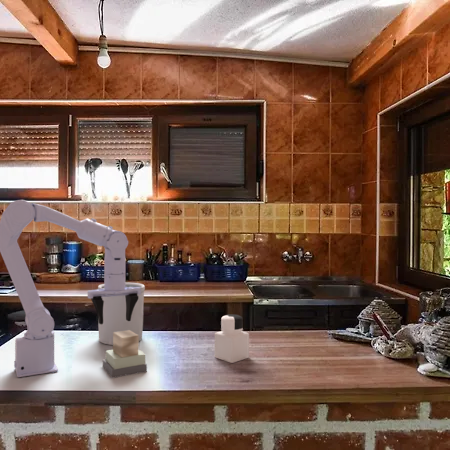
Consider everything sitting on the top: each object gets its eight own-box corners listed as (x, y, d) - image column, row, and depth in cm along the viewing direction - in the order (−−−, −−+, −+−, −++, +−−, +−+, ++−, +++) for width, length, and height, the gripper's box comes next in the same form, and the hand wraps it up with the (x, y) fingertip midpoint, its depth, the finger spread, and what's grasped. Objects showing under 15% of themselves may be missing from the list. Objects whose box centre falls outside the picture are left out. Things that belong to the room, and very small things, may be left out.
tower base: (111, 380, 110) (111, 370, 110) (102, 369, 118) (102, 359, 118) (146, 374, 114) (146, 364, 114) (135, 363, 122) (135, 354, 122)
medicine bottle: (231, 352, 131) (231, 311, 131) (249, 357, 126) (249, 315, 126) (213, 357, 126) (214, 315, 126) (231, 363, 121) (232, 319, 121)
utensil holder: (147, 333, 151) (147, 282, 151) (140, 346, 136) (140, 289, 136) (104, 333, 151) (104, 281, 150) (92, 346, 136) (92, 289, 136)
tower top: (114, 369, 110) (114, 359, 110) (105, 360, 117) (105, 350, 117) (145, 364, 115) (145, 354, 114) (134, 355, 121) (134, 346, 121)
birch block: (121, 357, 112) (121, 337, 112) (112, 351, 117) (113, 332, 116) (138, 354, 114) (138, 335, 114) (129, 348, 119) (129, 330, 119)
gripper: (91, 276, 116) (91, 328, 117) (144, 273, 123) (144, 322, 124) (85, 273, 123) (85, 322, 123) (136, 270, 130) (136, 316, 130)
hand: (114, 321), depth 124 cm, fingers open, 7 cm apart
